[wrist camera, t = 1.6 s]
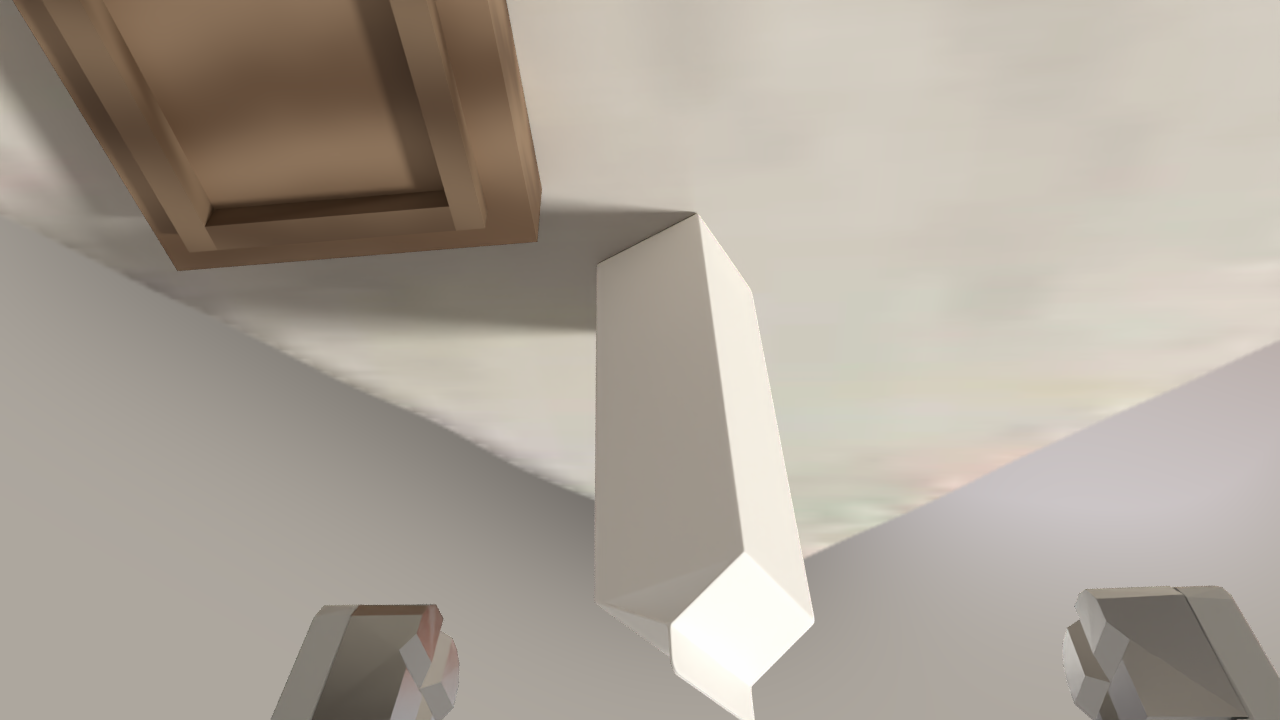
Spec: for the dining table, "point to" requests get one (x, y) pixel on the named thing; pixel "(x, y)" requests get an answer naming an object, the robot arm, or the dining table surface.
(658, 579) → the milk
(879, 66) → the dining table surface
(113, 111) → the walnut pedestal
